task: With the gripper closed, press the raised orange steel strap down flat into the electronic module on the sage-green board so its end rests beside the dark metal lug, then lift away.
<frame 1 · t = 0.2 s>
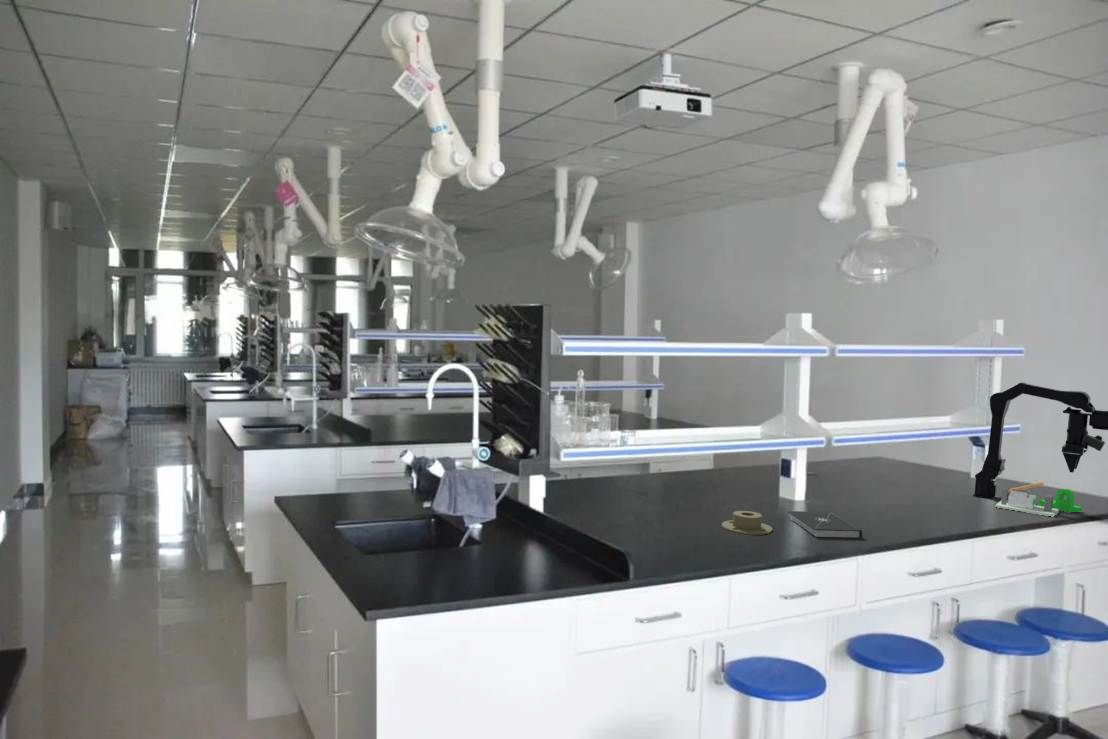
hand: (1073, 470, 292), 14 cm above the counter, tool pointing down, fingers open, 9 cm apart
electronic module: (1027, 499, 291), on the board, point 4 cm above the counter
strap: (1023, 487, 291), point 8 cm above the counter, hinge at 22.0°
board: (1026, 509, 291), on the counter
flange: (746, 530, 250), on the counter
book: (823, 530, 253), on the counter
mechanical part: (1059, 509, 295), on the counter
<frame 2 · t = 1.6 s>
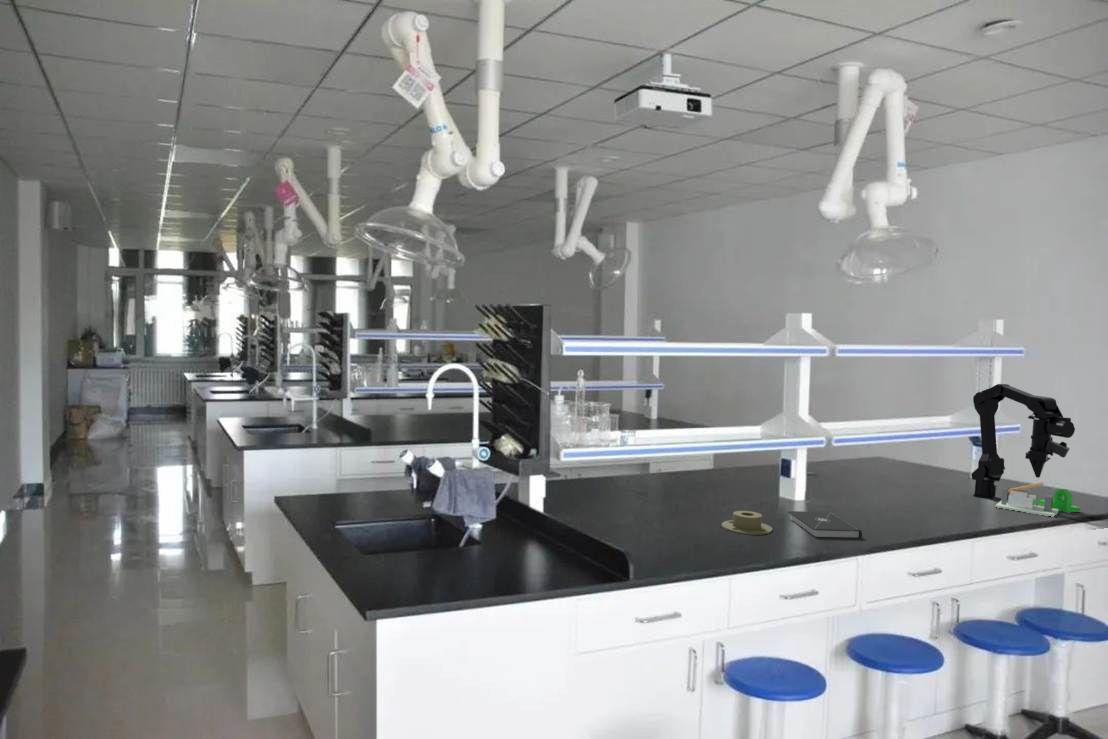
hand: (1037, 477, 288), 12 cm above the counter, tool pointing down, fingers closed
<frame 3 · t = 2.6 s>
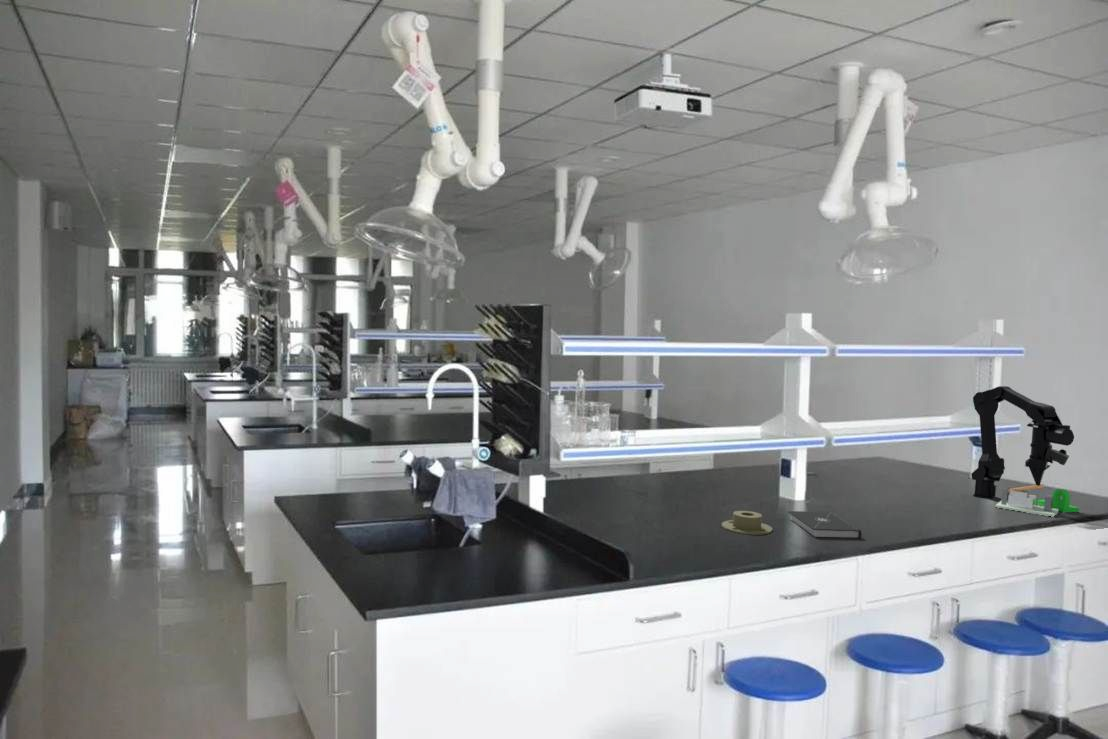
hand: (1037, 485, 288), 9 cm above the counter, tool pointing down, fingers closed, pressing on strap
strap: (1023, 488, 291), point 7 cm above the counter, hinge at 19.0°, touching gripper
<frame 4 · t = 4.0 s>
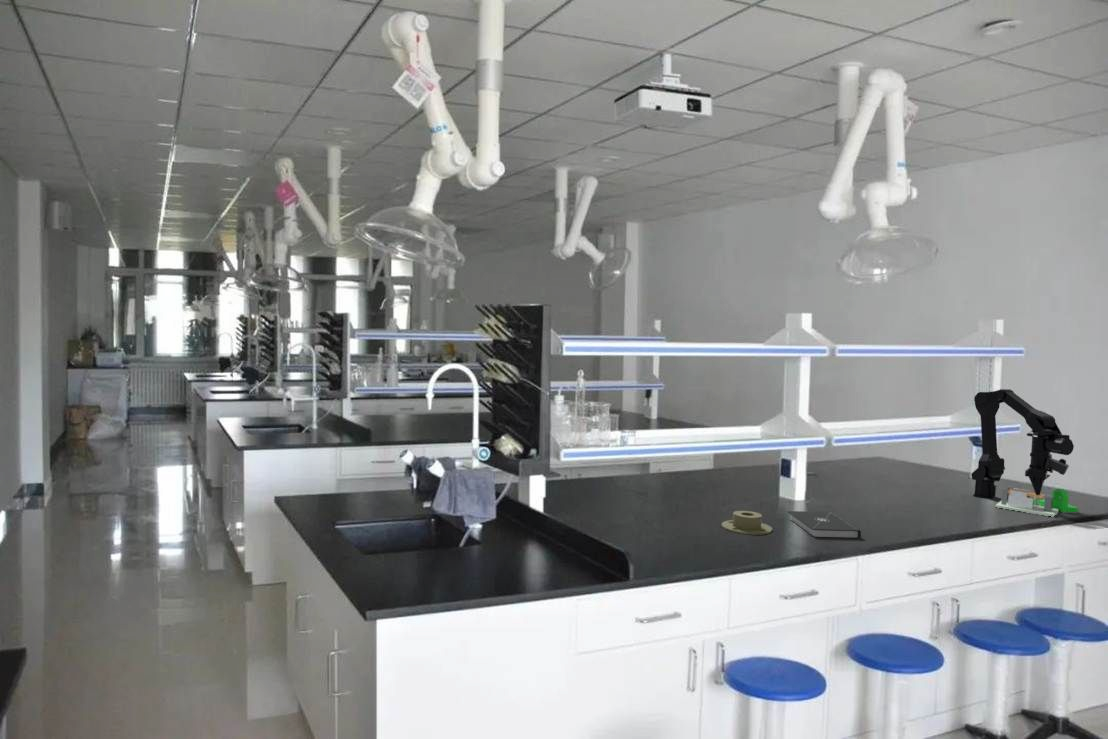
hand: (1037, 494, 288), 6 cm above the counter, tool pointing down, fingers closed, pressing on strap
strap: (1024, 493, 291), point 6 cm above the counter, hinge at 0.8°, touching gripper
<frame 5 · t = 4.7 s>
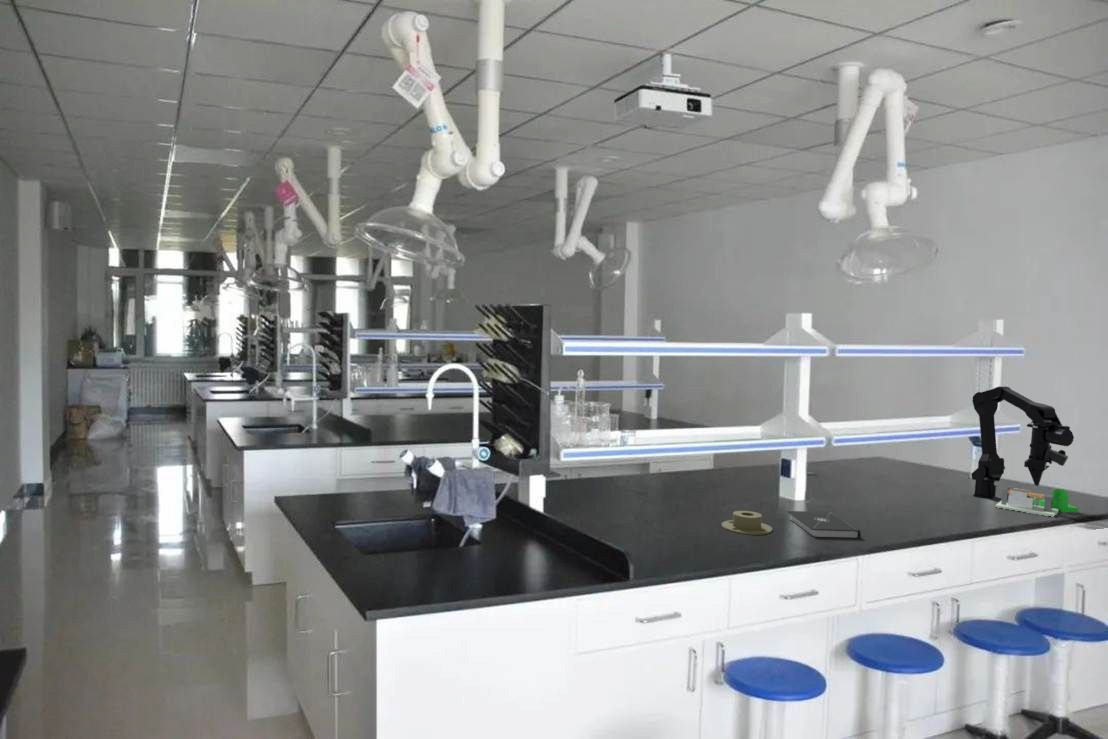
hand: (1036, 485, 289), 9 cm above the counter, tool pointing down, fingers closed
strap: (1024, 493, 291), point 6 cm above the counter, hinge at 0.8°
mechanical part: (1057, 509, 295), on the counter, touching board
everything else where it was.
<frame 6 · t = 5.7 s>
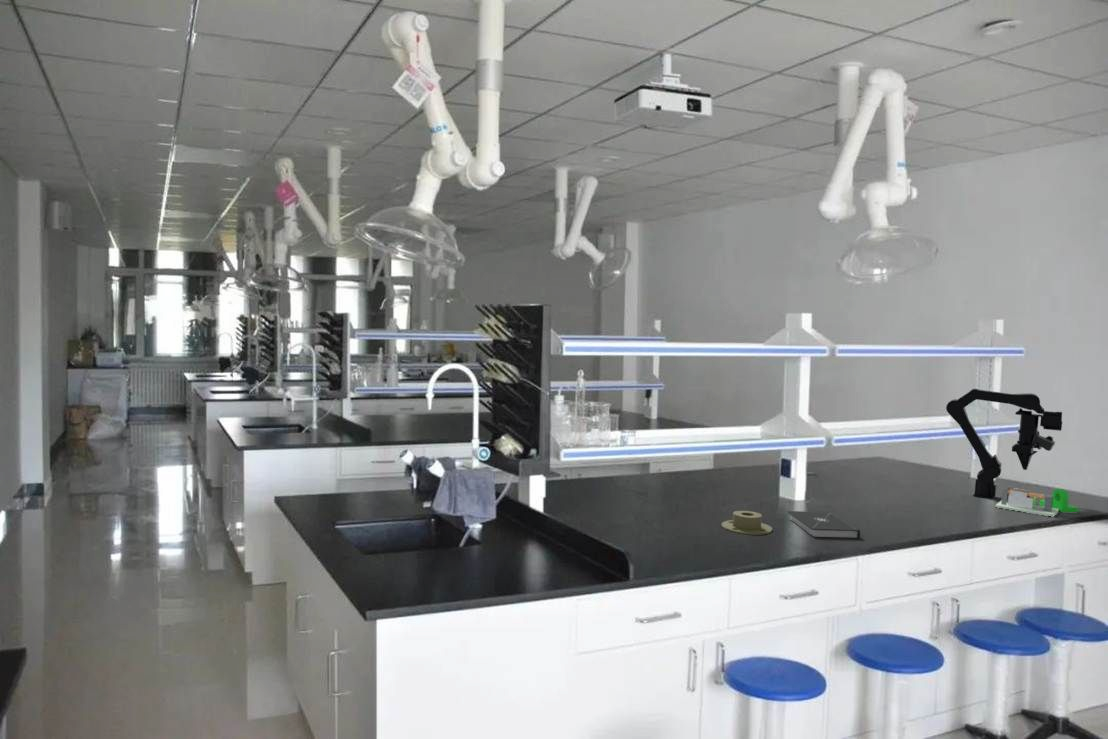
hand: (1024, 469, 303), 12 cm above the counter, tool pointing down, fingers closed
mechanical part: (1058, 509, 295), on the counter
everything else where it was.
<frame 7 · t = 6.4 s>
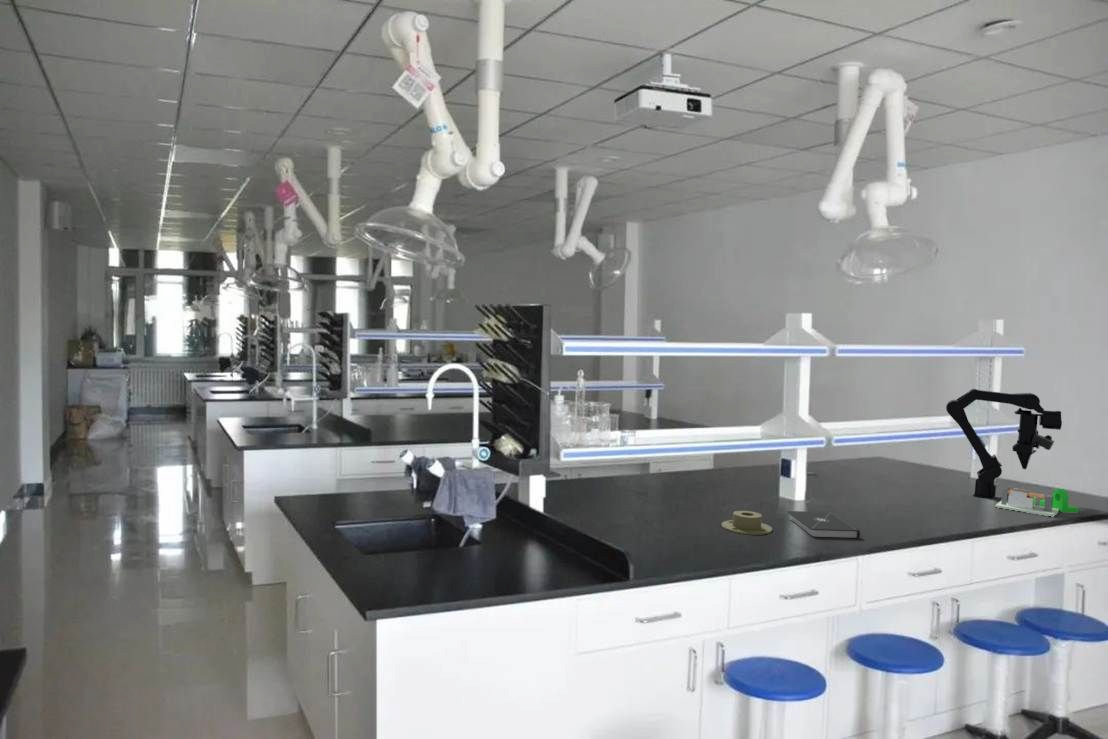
hand: (1024, 468, 304), 12 cm above the counter, tool pointing down, fingers closed
nothing on the counter moved.
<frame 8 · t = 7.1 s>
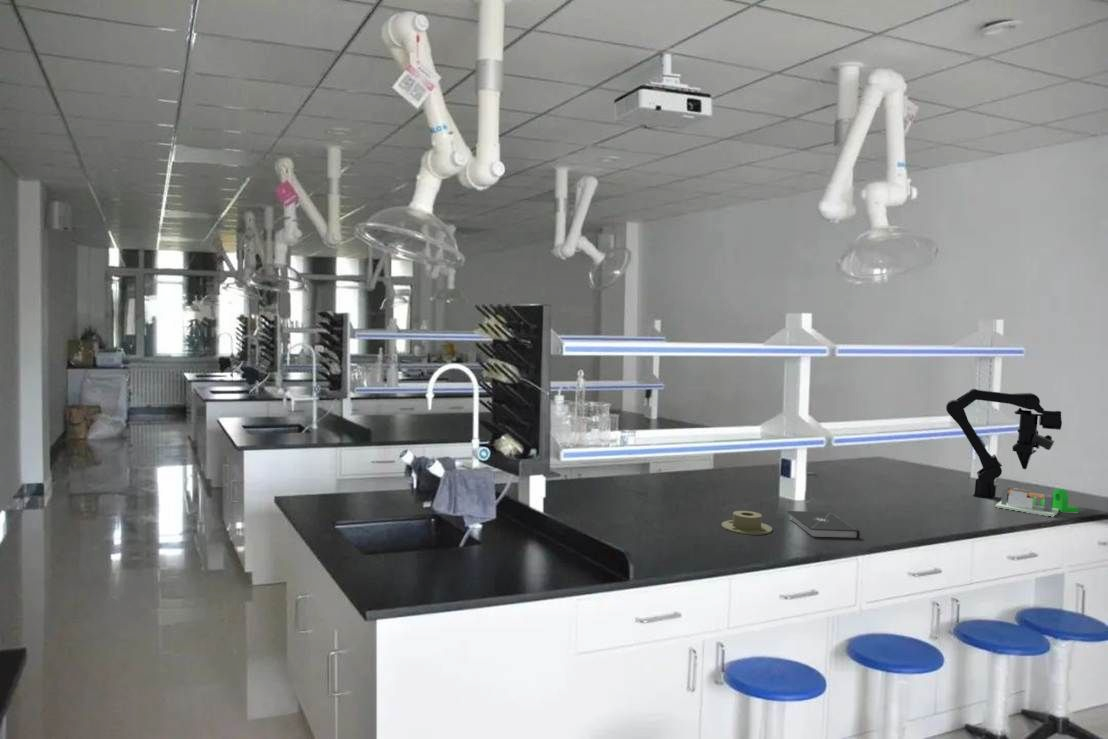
hand: (1024, 468, 304), 12 cm above the counter, tool pointing down, fingers closed
nothing on the counter moved.
at the end: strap at +1° (first picture: +22°); mechanical part moved 1.2 cm from its start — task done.
